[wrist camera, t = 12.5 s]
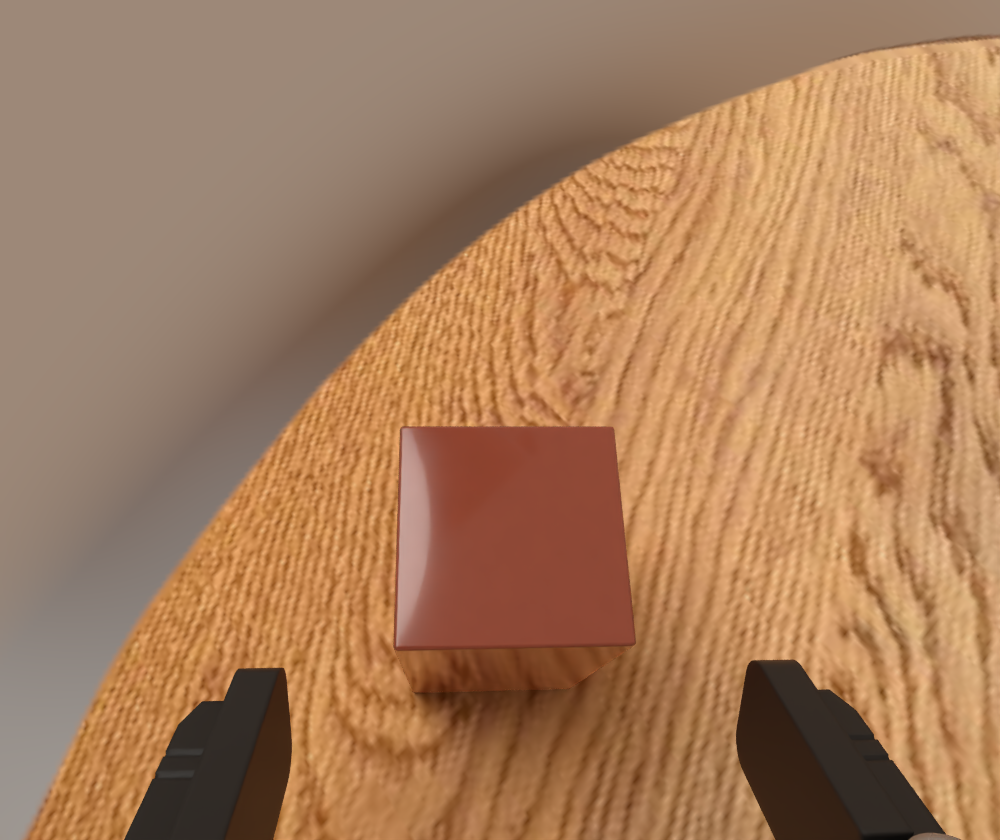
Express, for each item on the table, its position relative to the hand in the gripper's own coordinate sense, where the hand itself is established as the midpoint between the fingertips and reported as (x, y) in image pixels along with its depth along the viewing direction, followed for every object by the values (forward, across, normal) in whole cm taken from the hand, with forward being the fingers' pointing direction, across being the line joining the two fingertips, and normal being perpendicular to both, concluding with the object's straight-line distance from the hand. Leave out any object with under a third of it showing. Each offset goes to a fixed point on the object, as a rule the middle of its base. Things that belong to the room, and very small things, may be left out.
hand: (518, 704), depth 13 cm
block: (+8, 0, +4) cm, 9 cm away
